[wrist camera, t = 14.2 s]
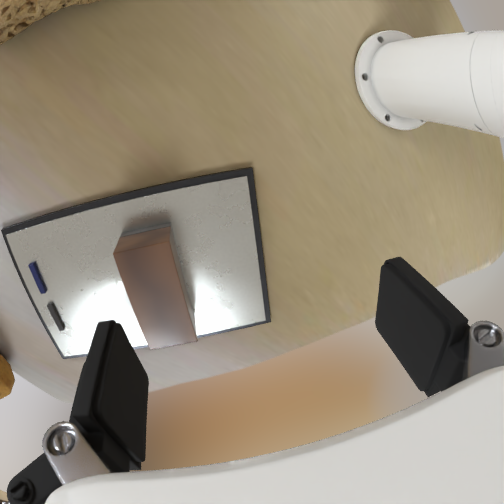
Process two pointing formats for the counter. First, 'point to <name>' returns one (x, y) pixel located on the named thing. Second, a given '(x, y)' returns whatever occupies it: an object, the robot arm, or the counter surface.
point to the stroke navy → (37, 278)
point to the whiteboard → (137, 217)
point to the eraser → (156, 285)
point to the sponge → (28, 14)
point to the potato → (5, 378)
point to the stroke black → (55, 316)
